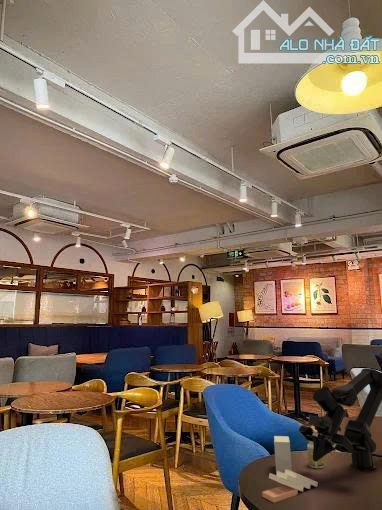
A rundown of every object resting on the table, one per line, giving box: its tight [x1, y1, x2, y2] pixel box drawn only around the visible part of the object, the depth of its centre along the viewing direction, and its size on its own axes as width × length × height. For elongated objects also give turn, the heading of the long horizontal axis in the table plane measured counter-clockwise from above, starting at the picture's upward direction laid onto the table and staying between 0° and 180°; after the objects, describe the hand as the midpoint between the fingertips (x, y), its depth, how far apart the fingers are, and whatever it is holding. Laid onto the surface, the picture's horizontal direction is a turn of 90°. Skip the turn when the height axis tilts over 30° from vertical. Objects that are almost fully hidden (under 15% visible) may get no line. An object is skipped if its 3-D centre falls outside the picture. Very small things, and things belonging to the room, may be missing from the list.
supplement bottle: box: [306, 441, 325, 469], centre depth 142 cm, size 5×5×10 cm
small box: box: [273, 435, 293, 474], centre depth 139 cm, size 8×6×10 cm
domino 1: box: [268, 472, 305, 492], centre depth 120 cm, size 1×5×10 cm
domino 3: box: [275, 471, 312, 490], centre depth 122 cm, size 1×5×10 cm
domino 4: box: [284, 469, 319, 488], centre depth 123 cm, size 1×5×10 cm
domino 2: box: [261, 484, 299, 503], centre depth 117 cm, size 1×5×10 cm
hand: (314, 460), depth 127 cm, fingers closed
